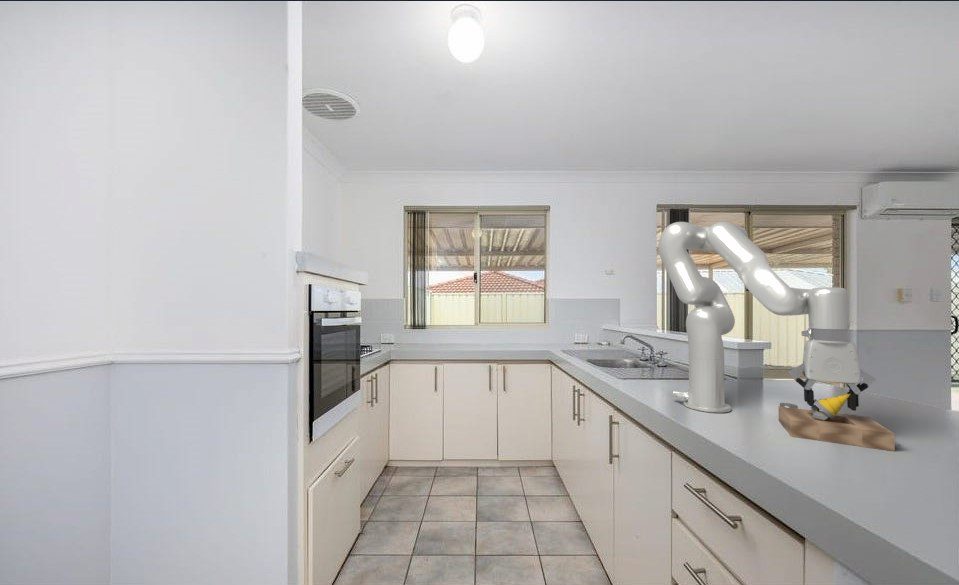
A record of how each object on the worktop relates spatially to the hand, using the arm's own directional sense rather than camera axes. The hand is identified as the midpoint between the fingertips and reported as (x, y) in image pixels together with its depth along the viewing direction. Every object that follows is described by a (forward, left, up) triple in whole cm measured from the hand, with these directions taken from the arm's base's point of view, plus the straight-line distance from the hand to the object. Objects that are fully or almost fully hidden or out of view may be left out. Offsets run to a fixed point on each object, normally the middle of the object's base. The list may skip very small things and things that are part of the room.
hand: (830, 406), depth 93 cm
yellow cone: (0, 0, -3) cm, 3 cm away
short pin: (-6, +11, -7) cm, 14 cm away
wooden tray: (0, 0, -7) cm, 7 cm away
